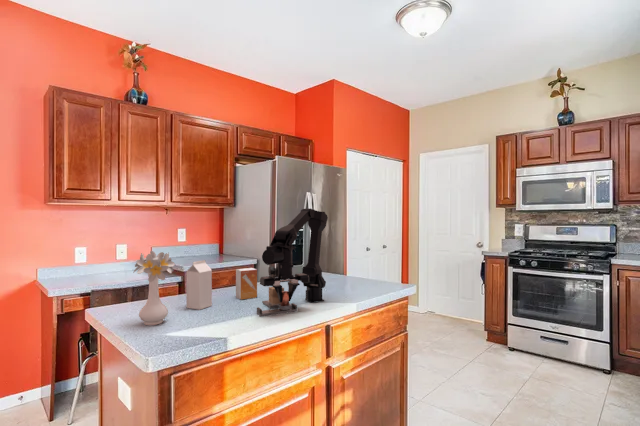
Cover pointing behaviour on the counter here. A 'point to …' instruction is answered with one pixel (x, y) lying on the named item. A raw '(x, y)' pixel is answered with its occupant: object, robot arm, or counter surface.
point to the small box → (246, 283)
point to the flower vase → (154, 286)
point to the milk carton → (199, 286)
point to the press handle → (285, 301)
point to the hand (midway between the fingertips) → (285, 301)
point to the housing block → (273, 295)
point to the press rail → (276, 311)
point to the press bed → (271, 304)
